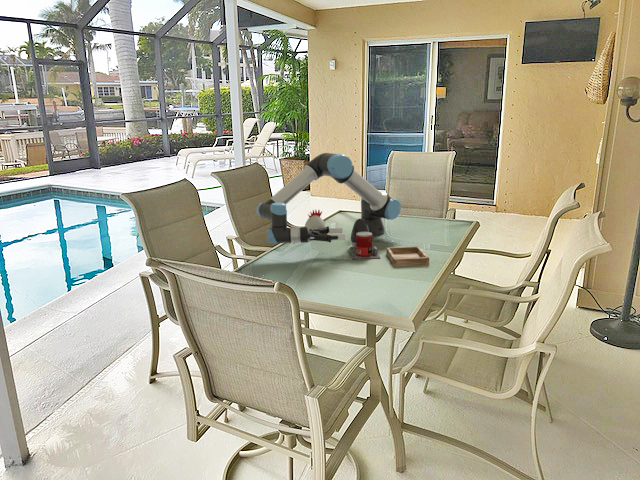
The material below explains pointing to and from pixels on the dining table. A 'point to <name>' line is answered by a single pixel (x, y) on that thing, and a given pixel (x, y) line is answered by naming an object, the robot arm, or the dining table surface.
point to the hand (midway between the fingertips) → (343, 233)
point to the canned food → (364, 244)
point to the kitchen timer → (315, 221)
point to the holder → (365, 257)
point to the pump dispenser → (358, 229)
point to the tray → (407, 256)
